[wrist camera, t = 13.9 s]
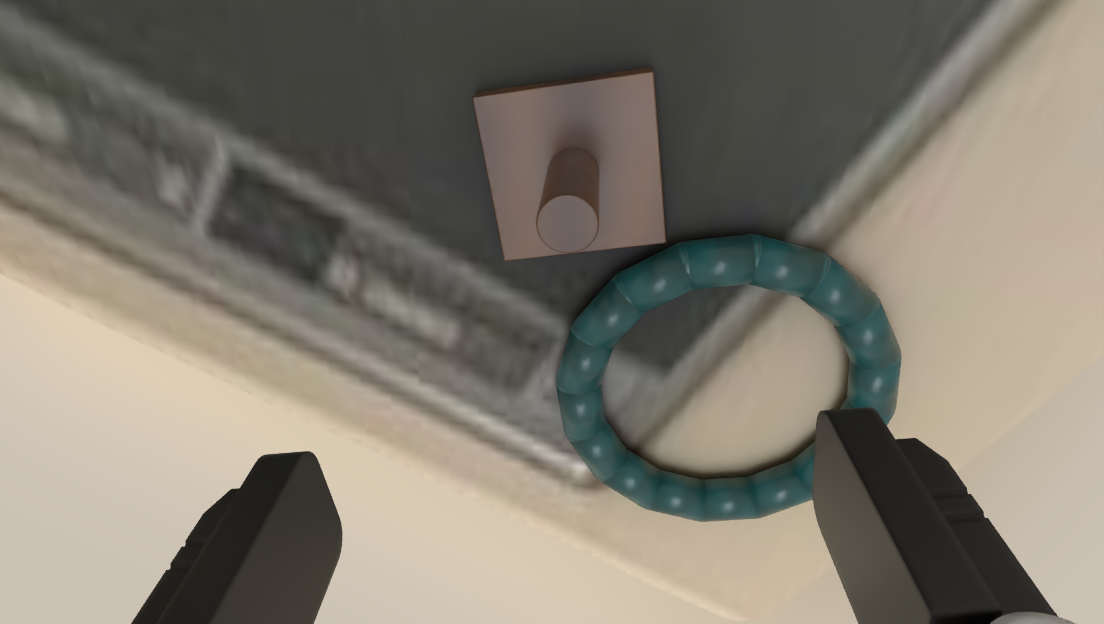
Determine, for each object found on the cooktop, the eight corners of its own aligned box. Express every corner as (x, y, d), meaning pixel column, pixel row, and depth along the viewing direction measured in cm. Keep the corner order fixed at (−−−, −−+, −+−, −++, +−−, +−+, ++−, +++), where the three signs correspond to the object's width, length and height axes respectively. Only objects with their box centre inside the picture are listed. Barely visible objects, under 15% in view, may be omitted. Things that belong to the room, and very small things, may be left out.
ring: (580, 508, 43) (579, 537, 41) (536, 249, 35) (532, 269, 33) (876, 489, 41) (891, 519, 39) (904, 208, 33) (925, 227, 30)
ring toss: (507, 251, 35) (484, 326, 28) (476, 91, 31) (441, 133, 24) (664, 234, 34) (680, 306, 27) (652, 66, 30) (666, 103, 23)
